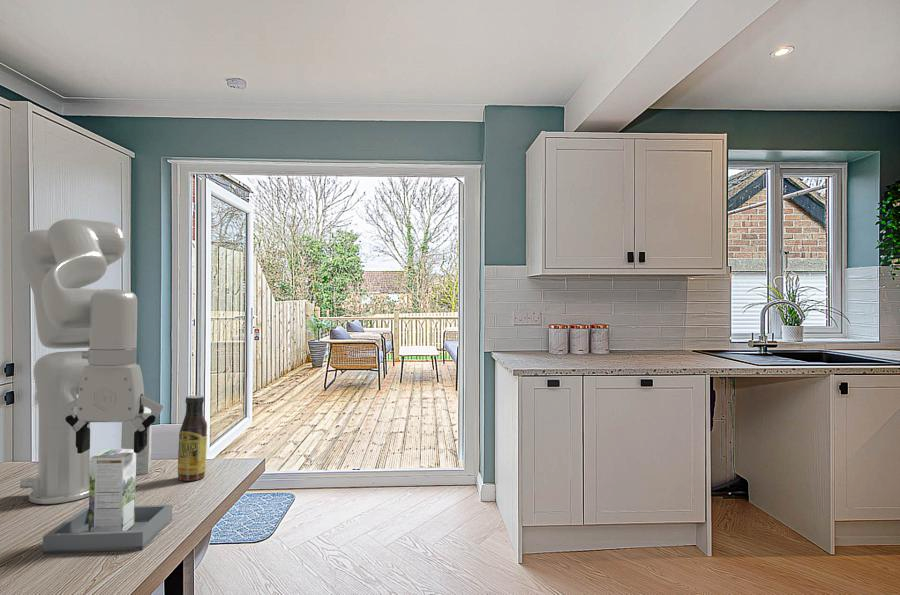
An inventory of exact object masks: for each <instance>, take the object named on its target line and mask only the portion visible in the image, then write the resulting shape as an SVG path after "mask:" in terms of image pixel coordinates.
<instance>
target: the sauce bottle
mask: <svg viewBox="0 0 900 595" xmlns="http://www.w3.org/2000/svg"><path fill="white" fill-rule="evenodd" d="M204 402H205V398H204V396H203V395H199V394H198V395H195V394H193V395H188V396H186V397H185V404H186V405H185V415H184V419H183V421H182V424H181V427H180V430H179V434H178V436H179V437H178V453H177V454H178V456H177V457H178V458H177V478H178V480H180V481H183V482H195V481H198V480H201V479H203V478H205V475H206V471H207V469H206V468H207V452H208V451H207V450H208V449H207V448H208V447H207V444H208V434H207V433H208V424H207V421H206V419H205V418H204V415H203V414H204V411H203V409H204V404H203V403H204ZM194 480H195V481H194Z"/></svg>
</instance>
